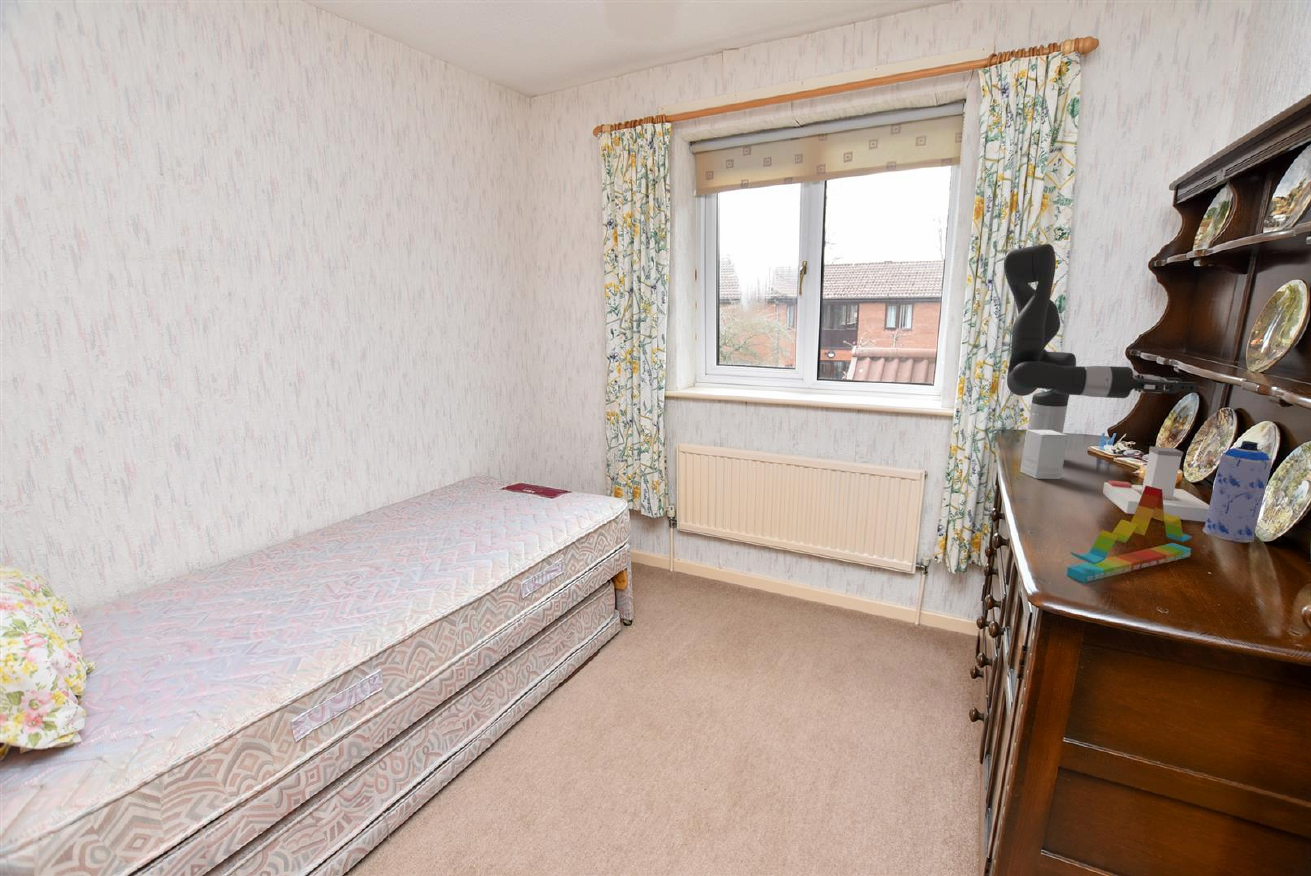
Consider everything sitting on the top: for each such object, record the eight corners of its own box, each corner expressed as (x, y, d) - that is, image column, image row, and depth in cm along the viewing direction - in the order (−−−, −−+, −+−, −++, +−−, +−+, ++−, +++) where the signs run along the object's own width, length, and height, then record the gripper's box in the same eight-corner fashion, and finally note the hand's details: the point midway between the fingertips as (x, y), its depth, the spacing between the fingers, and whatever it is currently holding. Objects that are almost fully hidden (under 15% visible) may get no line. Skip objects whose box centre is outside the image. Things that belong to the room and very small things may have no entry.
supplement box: (1061, 479, 161) (1069, 434, 158) (1034, 479, 161) (1041, 434, 158) (1045, 472, 168) (1052, 429, 165) (1019, 471, 168) (1025, 429, 165)
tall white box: (1138, 502, 142) (1149, 446, 139) (1161, 505, 140) (1173, 448, 137) (1146, 508, 137) (1158, 450, 134) (1170, 511, 136) (1183, 452, 133)
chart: (1085, 584, 100) (1100, 501, 96) (1066, 577, 103) (1080, 495, 99) (1190, 558, 111) (1207, 483, 107) (1170, 552, 114) (1187, 478, 110)
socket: (1102, 493, 149) (1105, 479, 148) (1180, 501, 143) (1183, 486, 142) (1126, 513, 134) (1129, 497, 133) (1214, 522, 129) (1217, 506, 128)
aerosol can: (1264, 540, 119) (1288, 445, 115) (1237, 544, 117) (1261, 447, 113) (1218, 526, 127) (1239, 436, 122) (1193, 530, 124) (1213, 438, 120)
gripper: (1117, 369, 133) (1207, 372, 127) (1097, 363, 146) (1178, 365, 140) (1111, 401, 135) (1200, 406, 129) (1092, 393, 148) (1172, 396, 142)
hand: (1188, 385), depth 134 cm, fingers open, 8 cm apart
